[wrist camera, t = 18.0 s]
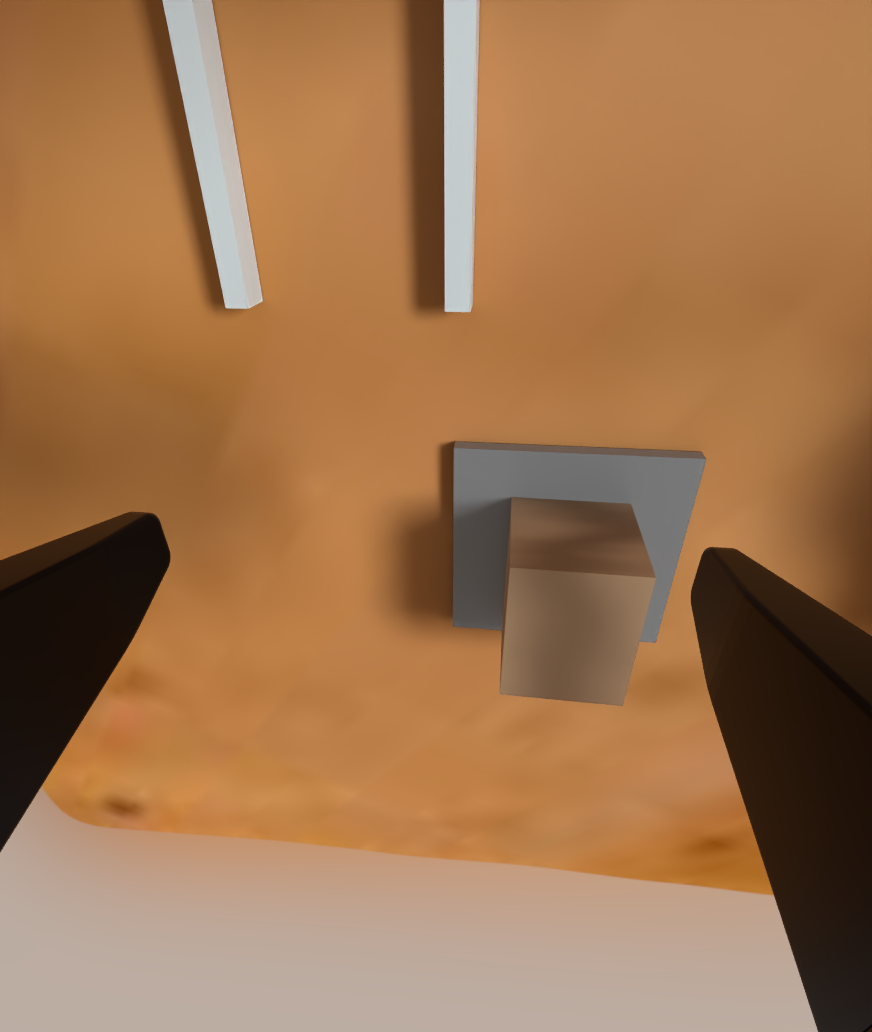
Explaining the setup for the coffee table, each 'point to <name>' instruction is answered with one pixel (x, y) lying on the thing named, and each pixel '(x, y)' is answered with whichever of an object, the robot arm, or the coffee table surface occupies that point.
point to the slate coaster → (563, 476)
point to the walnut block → (573, 600)
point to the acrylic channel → (221, 167)
